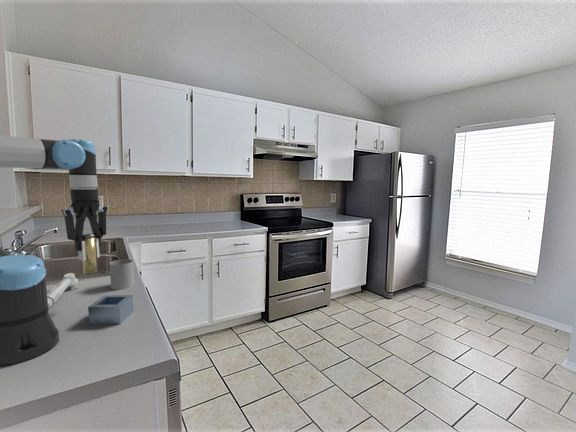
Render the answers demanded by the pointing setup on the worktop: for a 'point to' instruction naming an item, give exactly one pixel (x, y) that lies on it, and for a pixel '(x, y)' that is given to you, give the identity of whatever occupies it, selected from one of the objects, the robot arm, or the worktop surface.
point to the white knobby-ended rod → (62, 288)
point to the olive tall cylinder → (89, 254)
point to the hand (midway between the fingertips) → (89, 258)
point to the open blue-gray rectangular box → (110, 309)
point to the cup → (121, 274)
